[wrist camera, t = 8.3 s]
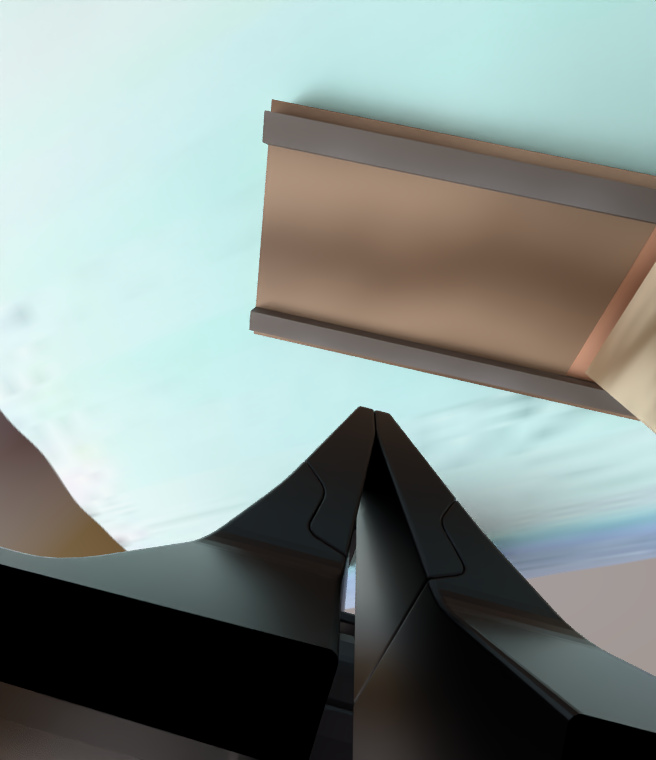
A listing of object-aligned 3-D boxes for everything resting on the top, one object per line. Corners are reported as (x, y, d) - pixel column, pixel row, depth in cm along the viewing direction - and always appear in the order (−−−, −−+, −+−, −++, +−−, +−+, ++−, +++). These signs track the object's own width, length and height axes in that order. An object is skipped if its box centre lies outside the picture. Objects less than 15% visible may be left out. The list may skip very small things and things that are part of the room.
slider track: (793, 443, 18) (907, 511, 14) (262, 324, 19) (232, 356, 16) (1005, 254, 14) (1265, 276, 10) (282, 108, 15) (244, 74, 11)
